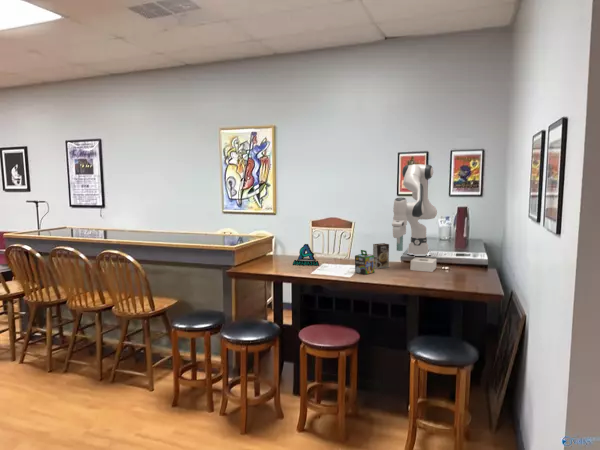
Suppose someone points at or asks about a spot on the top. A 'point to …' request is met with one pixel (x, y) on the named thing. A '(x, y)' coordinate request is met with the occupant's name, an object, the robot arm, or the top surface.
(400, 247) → the pin
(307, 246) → the decorative sign
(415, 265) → the hole block
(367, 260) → the chalk box
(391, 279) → the top surface
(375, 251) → the coffee box
